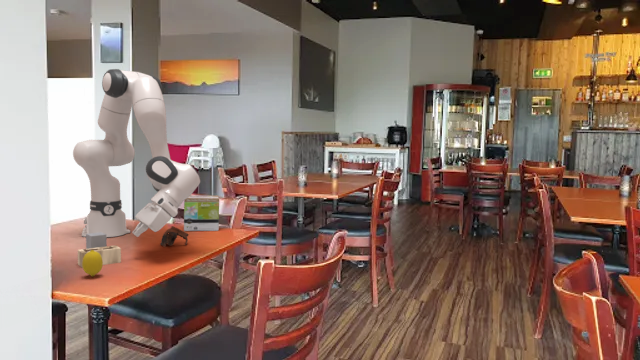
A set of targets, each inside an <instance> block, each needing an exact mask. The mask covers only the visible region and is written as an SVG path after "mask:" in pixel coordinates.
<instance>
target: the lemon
mask: <svg viewBox="0 0 640 360" xmlns="http://www.w3.org/2000/svg"><path fill="white" fill-rule="evenodd" d="M103 266H104V265H103V261H102V257H101V255H100V254H99V253H98V252H96V251H94V250H91V251H90V252H88V253H86V254H85V256H84V258H83V261H82V267H83V268H82V267H81V268H82V269H83V272H84V274H85V273H86V274H87V275H89V276H90V277H92V278H93V277H95V275H97V274H99V273H100V272H101V271H102V268H103Z"/></svg>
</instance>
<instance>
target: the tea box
mask: <svg viewBox="0 0 640 360" xmlns="http://www.w3.org/2000/svg"><path fill="white" fill-rule="evenodd" d="M183 203H184V204H183V231H184V232H191V231H192V232H195V231H199V232H200V231H203V232H205V231H206V232H208V231H209V232H212V231H213V232H214V231H215V232H216V231H217V232H218V231H219V229H220V227H219V226H220V198H219V195H205V194H204V195H203V194H202V195H200V194H199V195H196V194H195V195H192V194H191V195H190V196H189V197H188V198H187V199H185V200H184V201H183Z"/></svg>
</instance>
